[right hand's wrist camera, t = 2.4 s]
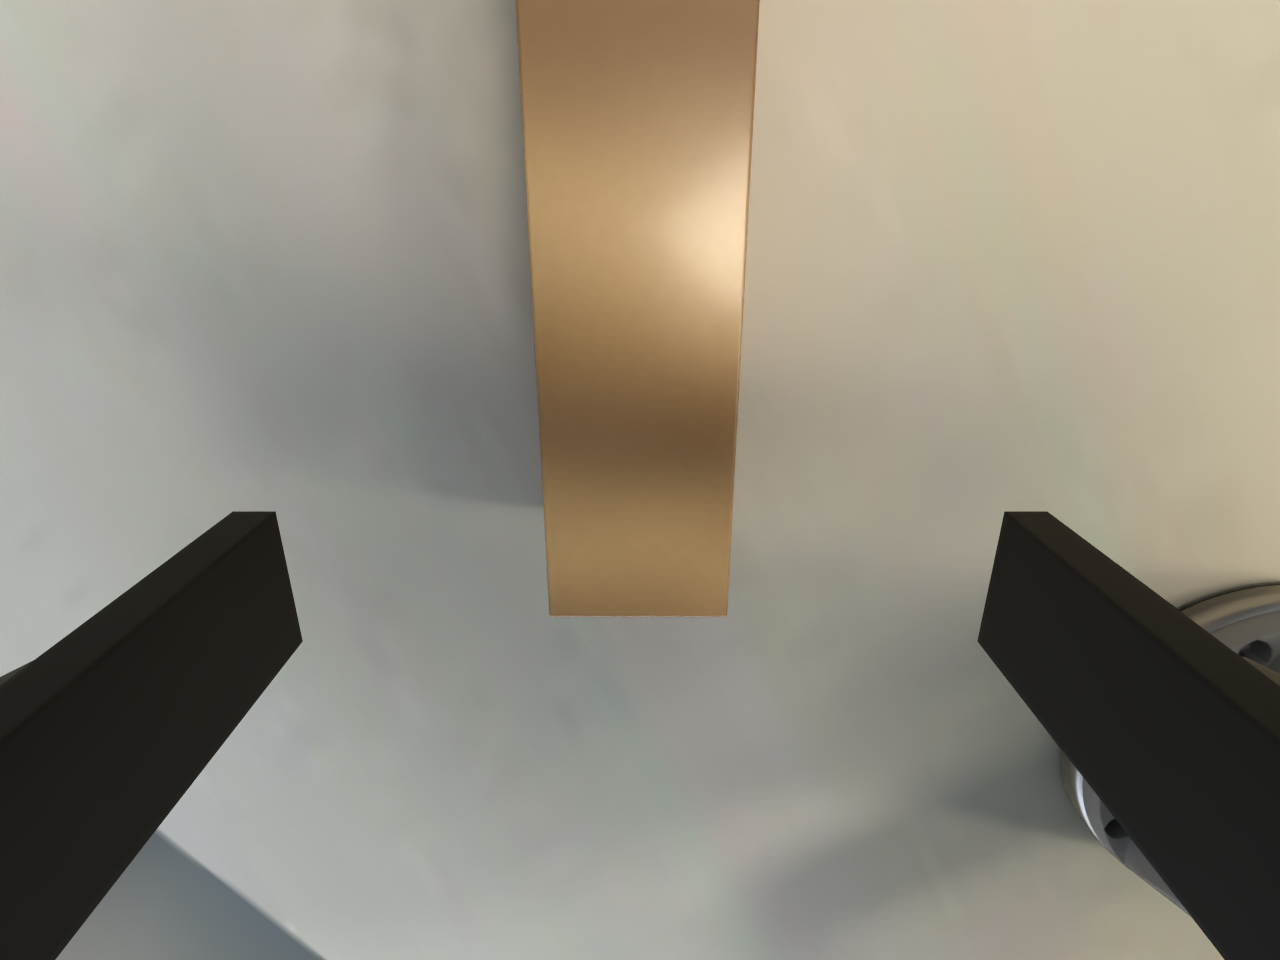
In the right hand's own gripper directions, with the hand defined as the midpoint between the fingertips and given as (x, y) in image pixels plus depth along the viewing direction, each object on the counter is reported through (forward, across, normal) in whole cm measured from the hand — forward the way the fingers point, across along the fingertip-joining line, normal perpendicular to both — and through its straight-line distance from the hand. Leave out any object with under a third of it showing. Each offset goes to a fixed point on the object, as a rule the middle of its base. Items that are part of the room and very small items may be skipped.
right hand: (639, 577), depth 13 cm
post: (+14, 0, -28) cm, 31 cm away
